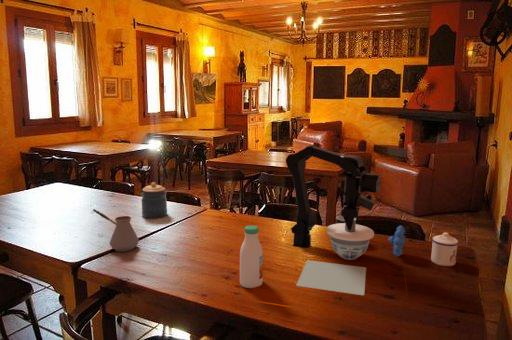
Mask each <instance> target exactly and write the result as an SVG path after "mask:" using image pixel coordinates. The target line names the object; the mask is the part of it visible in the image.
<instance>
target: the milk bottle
mask: <svg viewBox="0 0 512 340" xmlns="http://www.w3.org/2000/svg"><path fill="white" fill-rule="evenodd" d="M259 232H260V231H259V227H258V226H257V225H247V226H245V227H244V240H243V242H242V244H241V247H240V251H239V285H241V287H243V288H245V289H254V288H258V287H260V286H261V285H263V281H264V279H263V274H264V273H263V267H264V265H263V264H264V263H263V262H264V254H263V253H264V251H263V247H262V245H261V241H260V240H259Z"/></svg>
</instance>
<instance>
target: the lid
mask: <svg viewBox="0 0 512 340" xmlns="http://www.w3.org/2000/svg"><path fill="white" fill-rule="evenodd" d="M326 234H327V235H328V236H330V237H334V238H336V239H340V240H345V241H366V240H369V241H370V240H371V239H373V238H374V237H375V232H374V230H373V229H371V228H370V227H368V226H365V225H361V224H357V220H356V221H355V220H354V221H353V224H352V228H351V230H348V228H347V226H346V223H338V224H336V223H333V224H329V225H328V226H327V227H326Z"/></svg>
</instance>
